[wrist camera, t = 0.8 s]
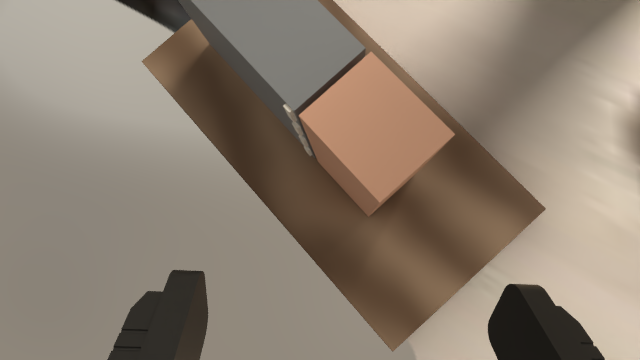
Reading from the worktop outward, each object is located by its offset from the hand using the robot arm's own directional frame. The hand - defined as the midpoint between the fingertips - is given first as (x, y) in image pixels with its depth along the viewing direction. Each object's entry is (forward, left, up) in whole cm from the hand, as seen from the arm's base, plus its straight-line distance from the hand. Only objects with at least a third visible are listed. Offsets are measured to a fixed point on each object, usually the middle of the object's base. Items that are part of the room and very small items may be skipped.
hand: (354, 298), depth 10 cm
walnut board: (-6, -9, -22) cm, 24 cm away
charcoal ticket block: (-6, -15, -20) cm, 26 cm away
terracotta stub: (-6, -5, -20) cm, 22 cm away
